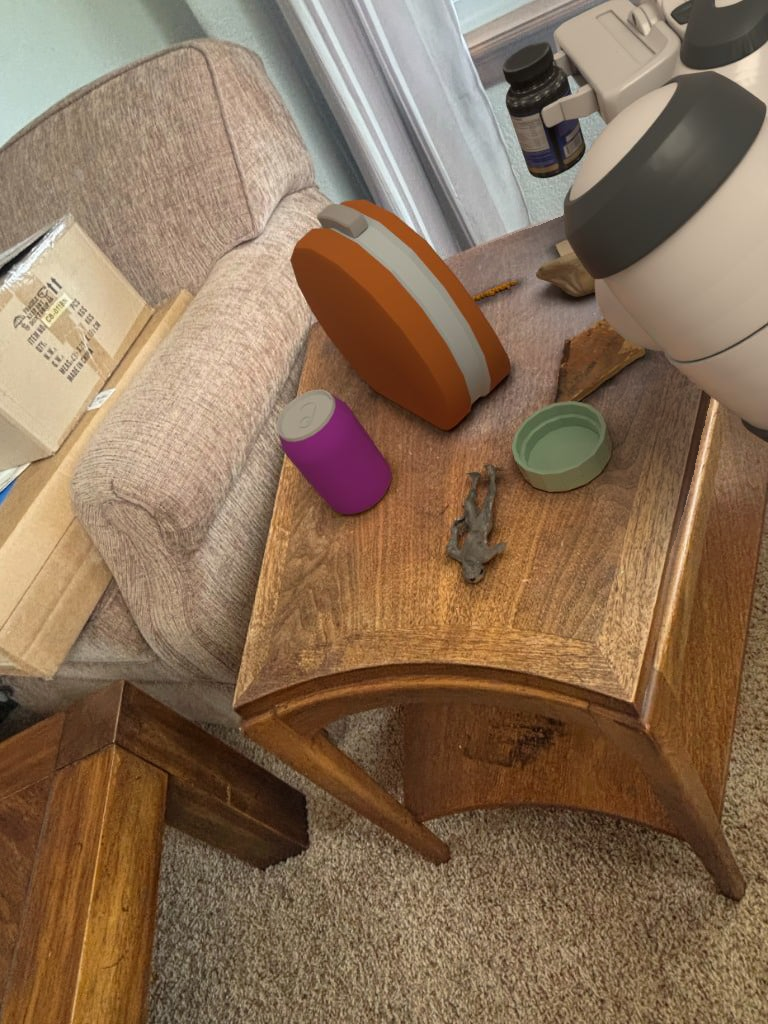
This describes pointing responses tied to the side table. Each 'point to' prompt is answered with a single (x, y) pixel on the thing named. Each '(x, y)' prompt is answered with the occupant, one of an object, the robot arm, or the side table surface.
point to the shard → (592, 360)
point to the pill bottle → (528, 91)
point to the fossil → (568, 275)
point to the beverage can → (333, 451)
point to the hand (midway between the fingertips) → (533, 103)
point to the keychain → (494, 290)
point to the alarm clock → (398, 312)
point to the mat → (564, 248)
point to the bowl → (562, 446)
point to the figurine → (475, 530)
